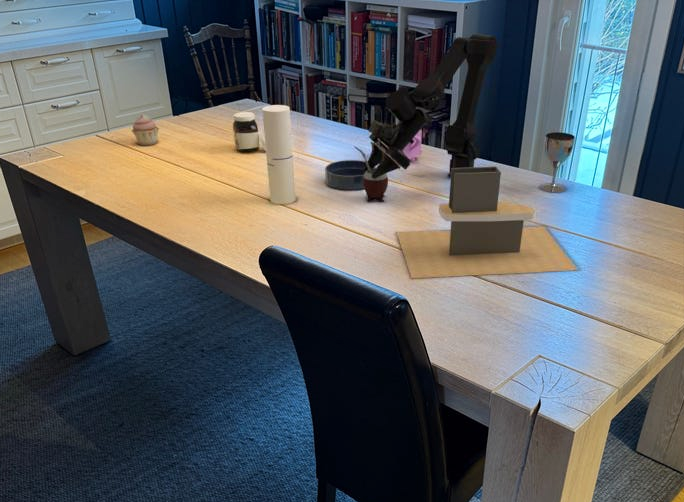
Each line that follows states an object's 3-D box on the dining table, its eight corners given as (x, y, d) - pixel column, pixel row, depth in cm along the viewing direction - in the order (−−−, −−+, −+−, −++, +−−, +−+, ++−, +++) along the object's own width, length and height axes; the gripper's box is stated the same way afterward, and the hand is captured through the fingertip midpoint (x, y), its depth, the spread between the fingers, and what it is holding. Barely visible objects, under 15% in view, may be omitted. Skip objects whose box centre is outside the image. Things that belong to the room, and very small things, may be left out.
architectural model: (543, 226, 174) (555, 149, 163) (578, 270, 153) (594, 185, 142) (396, 232, 171) (398, 155, 160) (411, 278, 150) (414, 192, 139)
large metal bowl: (385, 179, 204) (385, 166, 202) (355, 194, 194) (355, 179, 192) (346, 170, 212) (346, 157, 209) (315, 183, 202) (314, 169, 200)
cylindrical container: (291, 205, 188) (284, 112, 174) (266, 203, 189) (258, 111, 175) (298, 196, 193) (292, 105, 179) (274, 194, 195) (267, 104, 181)
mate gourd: (393, 199, 191) (393, 145, 182) (372, 206, 187) (371, 152, 178) (375, 192, 196) (374, 140, 187) (354, 199, 191) (353, 146, 183)
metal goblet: (535, 190, 196) (542, 138, 188) (542, 181, 202) (550, 130, 194) (562, 194, 193) (571, 141, 185) (569, 186, 199) (577, 134, 191)
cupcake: (133, 140, 240) (127, 111, 234) (160, 138, 242) (155, 109, 236) (134, 148, 232) (128, 118, 227) (162, 145, 235) (156, 116, 229)
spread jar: (232, 147, 233) (228, 112, 226) (264, 143, 237) (261, 108, 230) (242, 157, 224) (238, 120, 217) (275, 152, 228) (272, 116, 221)
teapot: (423, 167, 214) (424, 132, 208) (381, 167, 214) (381, 132, 208) (418, 152, 227) (419, 119, 221) (378, 153, 226) (379, 120, 220)
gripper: (375, 101, 186) (338, 146, 189) (399, 118, 171) (359, 166, 174) (401, 127, 192) (365, 170, 196) (427, 146, 178) (387, 192, 181)
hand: (368, 174), depth 186 cm, fingers closed on mate gourd, 6 cm apart
